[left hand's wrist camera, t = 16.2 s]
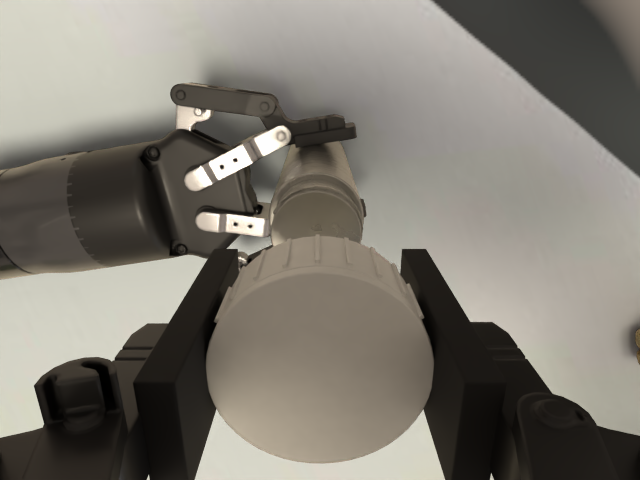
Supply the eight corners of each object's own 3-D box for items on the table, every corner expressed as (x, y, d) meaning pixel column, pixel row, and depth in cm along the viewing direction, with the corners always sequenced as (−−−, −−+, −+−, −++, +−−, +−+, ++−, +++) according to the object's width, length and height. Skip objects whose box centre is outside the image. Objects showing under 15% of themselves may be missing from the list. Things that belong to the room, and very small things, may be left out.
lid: (192, 264, 12) (162, 307, 10) (391, 207, 11) (408, 238, 9) (260, 420, 14) (249, 486, 11) (435, 377, 13) (458, 437, 11)
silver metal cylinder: (356, 151, 34) (390, 223, 18) (323, 196, 35) (327, 300, 19) (309, 117, 33) (302, 162, 17) (277, 164, 34) (242, 247, 18)
